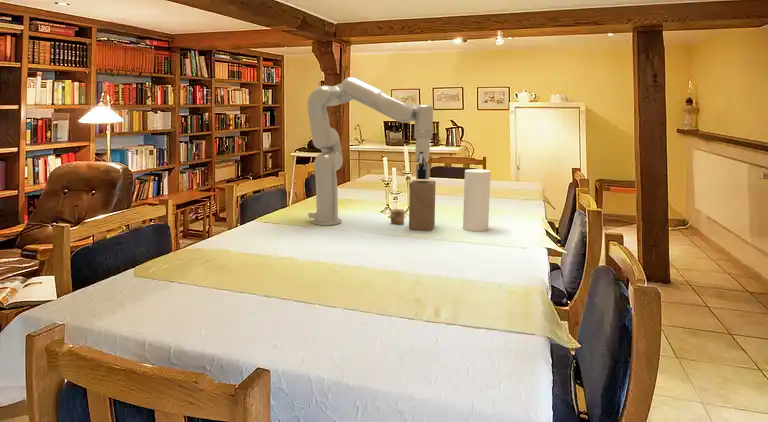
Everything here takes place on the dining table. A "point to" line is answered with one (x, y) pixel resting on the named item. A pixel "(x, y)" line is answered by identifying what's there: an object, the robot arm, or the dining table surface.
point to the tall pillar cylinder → (476, 199)
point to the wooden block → (421, 205)
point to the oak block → (397, 216)
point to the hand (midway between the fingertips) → (422, 177)
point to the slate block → (427, 167)
